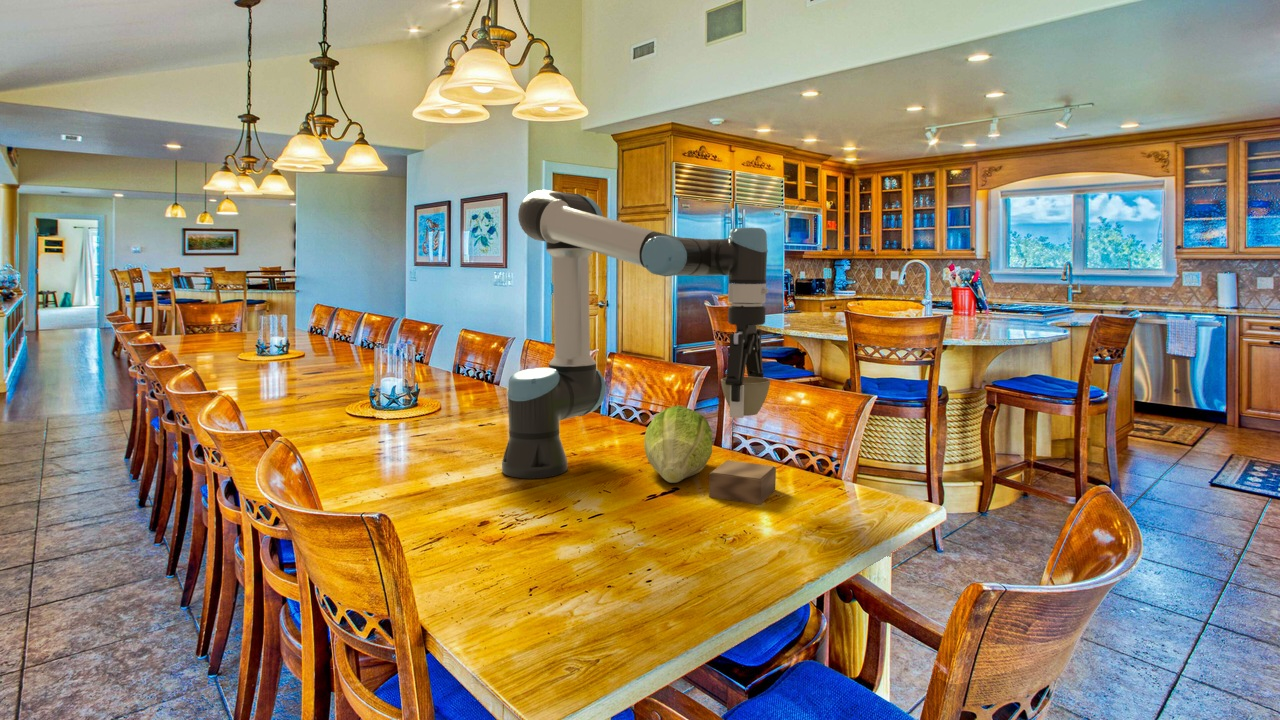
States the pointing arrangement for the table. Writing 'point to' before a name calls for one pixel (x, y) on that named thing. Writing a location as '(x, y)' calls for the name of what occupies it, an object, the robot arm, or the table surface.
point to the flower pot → (750, 393)
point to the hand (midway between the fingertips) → (744, 412)
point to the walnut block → (742, 482)
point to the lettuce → (678, 443)
